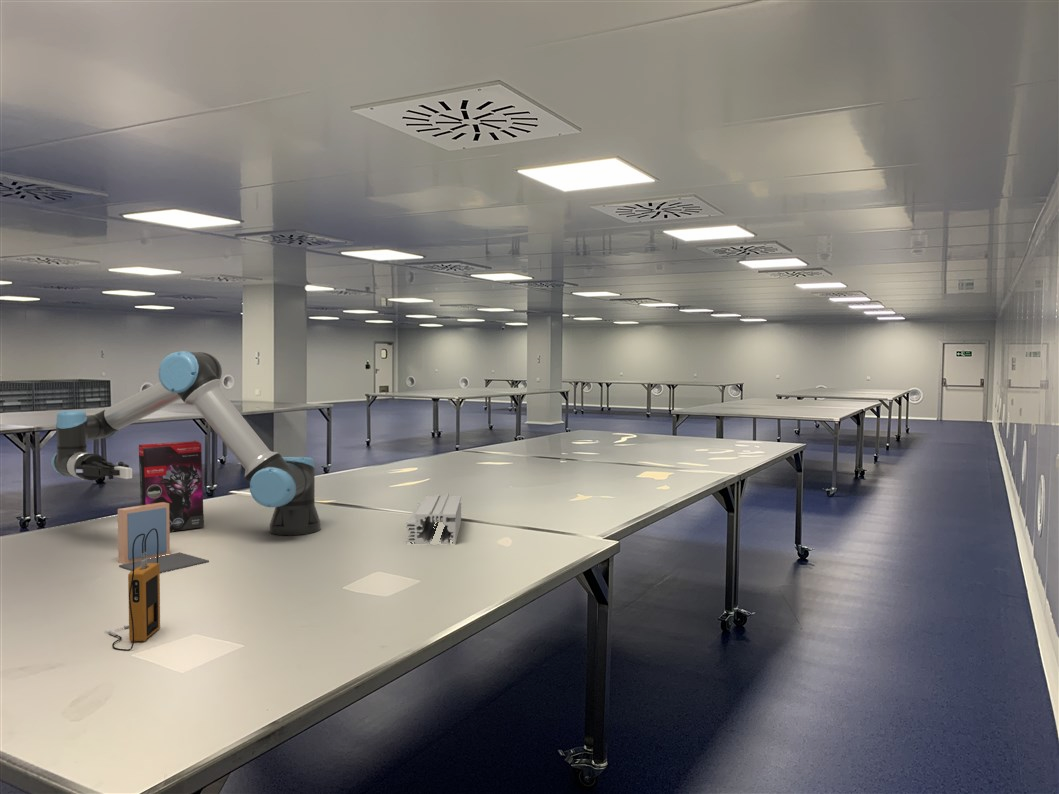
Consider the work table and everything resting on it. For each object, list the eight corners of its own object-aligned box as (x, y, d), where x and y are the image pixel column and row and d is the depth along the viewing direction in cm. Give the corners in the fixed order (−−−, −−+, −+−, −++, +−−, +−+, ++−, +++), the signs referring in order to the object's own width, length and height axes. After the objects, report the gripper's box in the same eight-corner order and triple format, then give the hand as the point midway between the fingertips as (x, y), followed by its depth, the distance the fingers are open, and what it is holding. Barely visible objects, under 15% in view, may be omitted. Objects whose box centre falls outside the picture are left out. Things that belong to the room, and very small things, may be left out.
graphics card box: (144, 536, 218) (143, 445, 217) (138, 532, 223) (137, 443, 222) (204, 528, 229) (203, 442, 228) (197, 524, 234) (196, 440, 233)
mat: (118, 566, 185) (118, 565, 185) (179, 553, 198) (179, 552, 198) (147, 576, 177) (147, 574, 177) (209, 561, 190) (209, 560, 190)
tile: (118, 562, 189) (117, 509, 189) (163, 553, 199) (163, 502, 198) (124, 564, 187) (124, 510, 187) (170, 554, 197) (169, 503, 196)
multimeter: (116, 623, 145) (114, 523, 144) (168, 622, 145) (167, 523, 145) (76, 652, 130) (74, 541, 129) (135, 650, 131) (133, 540, 130)
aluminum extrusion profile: (405, 546, 210) (405, 511, 209) (417, 523, 240) (417, 493, 240) (455, 545, 210) (455, 511, 210) (461, 523, 241) (461, 493, 241)
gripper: (111, 476, 215) (153, 484, 202) (62, 482, 205) (103, 490, 191) (111, 451, 215) (153, 457, 202) (62, 455, 204) (103, 462, 191)
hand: (129, 473), depth 196 cm, fingers closed
